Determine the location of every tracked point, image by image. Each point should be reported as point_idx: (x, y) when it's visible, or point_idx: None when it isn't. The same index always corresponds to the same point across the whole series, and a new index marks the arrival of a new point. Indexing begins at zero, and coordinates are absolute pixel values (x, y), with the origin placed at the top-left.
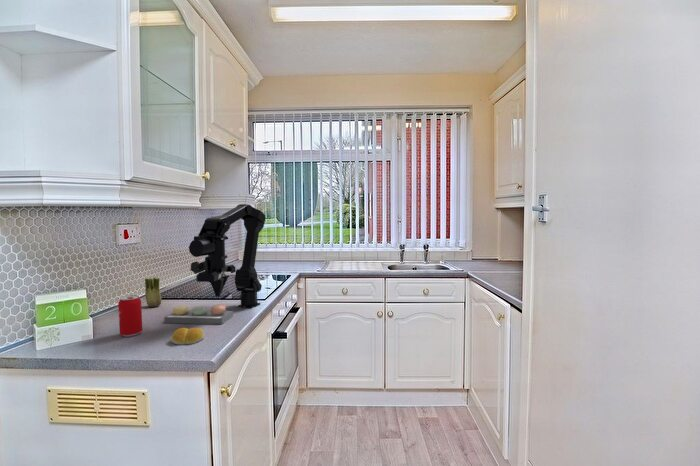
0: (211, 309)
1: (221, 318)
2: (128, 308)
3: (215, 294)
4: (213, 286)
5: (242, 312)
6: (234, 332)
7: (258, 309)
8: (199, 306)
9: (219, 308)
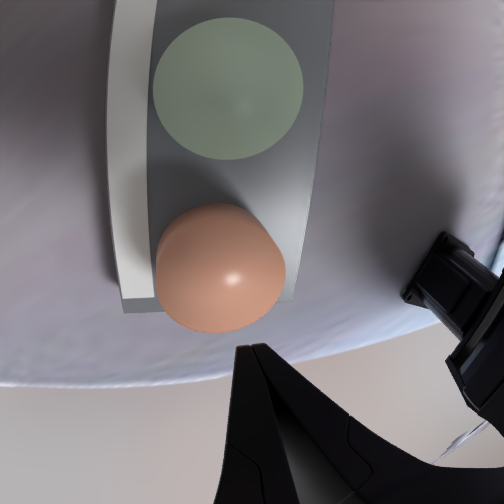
0: (167, 244)
1: (123, 309)
2: None
3: (234, 367)
4: (223, 481)
5: (347, 293)
6: (49, 374)
7: (375, 333)
8: (290, 67)
9: (171, 315)
